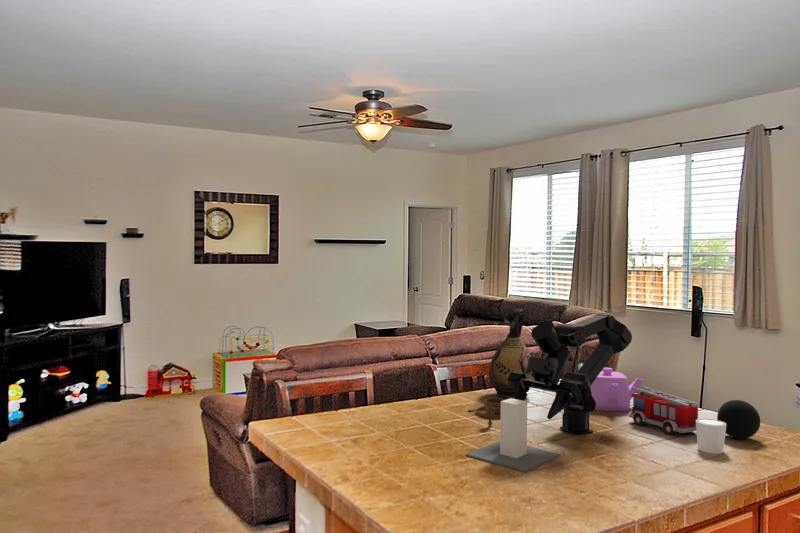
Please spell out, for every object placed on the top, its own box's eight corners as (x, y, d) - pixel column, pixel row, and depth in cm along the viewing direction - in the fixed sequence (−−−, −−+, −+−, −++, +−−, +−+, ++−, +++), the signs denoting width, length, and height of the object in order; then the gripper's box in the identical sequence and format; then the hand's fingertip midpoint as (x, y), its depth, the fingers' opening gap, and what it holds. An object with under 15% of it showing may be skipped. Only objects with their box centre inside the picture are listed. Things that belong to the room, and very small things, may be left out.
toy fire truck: (647, 419, 179) (648, 385, 179) (703, 435, 162) (704, 398, 162) (625, 422, 175) (626, 387, 175) (680, 439, 158) (681, 401, 158)
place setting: (532, 418, 179) (532, 399, 179) (492, 431, 165) (493, 410, 165) (485, 408, 192) (485, 389, 192) (444, 419, 177) (444, 399, 177)
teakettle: (599, 397, 206) (599, 362, 206) (645, 407, 193) (646, 369, 193) (568, 404, 196) (569, 366, 196) (615, 415, 182) (616, 375, 182)
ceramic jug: (524, 403, 197) (526, 311, 196) (481, 396, 205) (482, 309, 205) (542, 393, 211) (543, 308, 211) (500, 388, 219) (502, 306, 219)
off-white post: (510, 449, 146) (511, 398, 146) (526, 453, 143) (527, 401, 143) (499, 453, 142) (500, 401, 142) (516, 458, 139) (517, 404, 139)
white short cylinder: (723, 447, 151) (723, 419, 151) (728, 455, 145) (729, 426, 145) (693, 444, 153) (693, 417, 153) (697, 452, 147) (697, 423, 147)
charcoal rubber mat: (503, 441, 154) (503, 439, 154) (560, 455, 143) (560, 453, 143) (465, 455, 142) (465, 453, 142) (525, 472, 131) (525, 470, 131)
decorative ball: (717, 430, 167) (718, 394, 167) (759, 436, 162) (760, 399, 162) (716, 439, 158) (716, 401, 158) (760, 445, 153) (761, 406, 153)
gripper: (511, 340, 158) (487, 389, 150) (578, 349, 146) (555, 402, 138) (526, 366, 164) (503, 414, 156) (591, 377, 152) (570, 429, 144)
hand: (531, 414), depth 148 cm, fingers open, 9 cm apart
